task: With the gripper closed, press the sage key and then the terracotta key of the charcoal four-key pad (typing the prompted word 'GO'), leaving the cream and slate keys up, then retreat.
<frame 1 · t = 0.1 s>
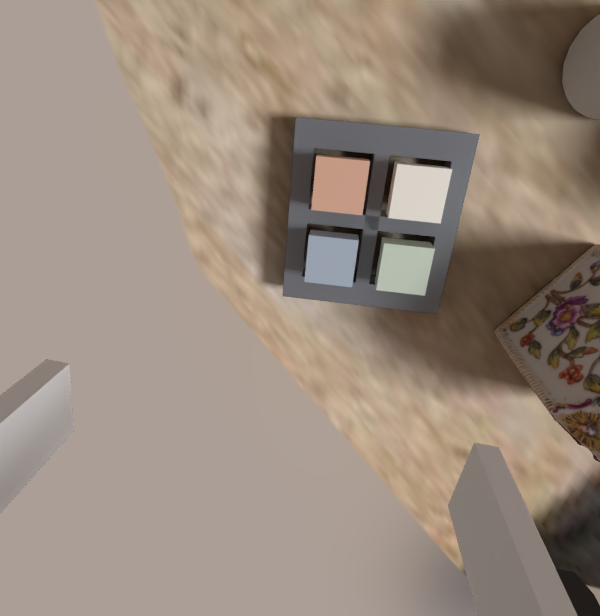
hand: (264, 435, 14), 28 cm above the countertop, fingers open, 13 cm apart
slate key: (331, 256, 36), point 3 cm above the countertop, slide at 0.0 cm
sage key: (402, 264, 36), point 3 cm above the countertop, slide at 0.0 cm
cream key: (416, 191, 34), point 3 cm above the countertop, slide at 0.0 cm
keypad: (370, 216, 38), on the countertop
decorative jar: (580, 324, 40), on the countertop
terracotta key: (340, 183, 34), point 3 cm above the countertop, slide at 0.0 cm
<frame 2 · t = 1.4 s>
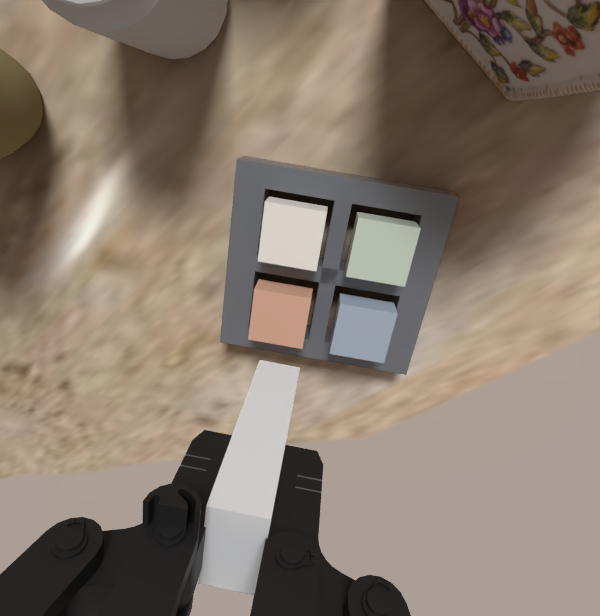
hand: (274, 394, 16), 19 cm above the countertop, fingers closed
slate key: (361, 324, 32), point 3 cm above the countertop, slide at 0.0 cm
squeeze bottle: (6, 100, 31), on the countertop
sage key: (380, 246, 29), point 3 cm above the countertop, slide at 0.0 cm
cream key: (293, 231, 29), point 3 cm above the countertop, slide at 0.0 cm
keypad: (329, 265, 34), on the countertop
terracotta key: (281, 310, 32), point 3 cm above the countertop, slide at 0.0 cm
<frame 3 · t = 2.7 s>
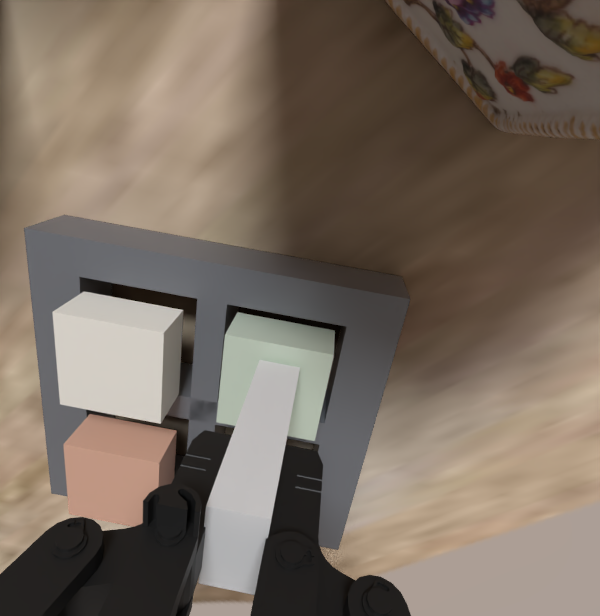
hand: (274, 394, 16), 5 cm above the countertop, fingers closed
sage key: (277, 368, 18), point 3 cm above the countertop, slide at 0.7 cm, touching gripper
cream key: (128, 349, 17), point 3 cm above the countertop, slide at 0.0 cm
keypad: (218, 379, 22), on the countertop
terracotta key: (129, 462, 20), point 3 cm above the countertop, slide at 0.0 cm
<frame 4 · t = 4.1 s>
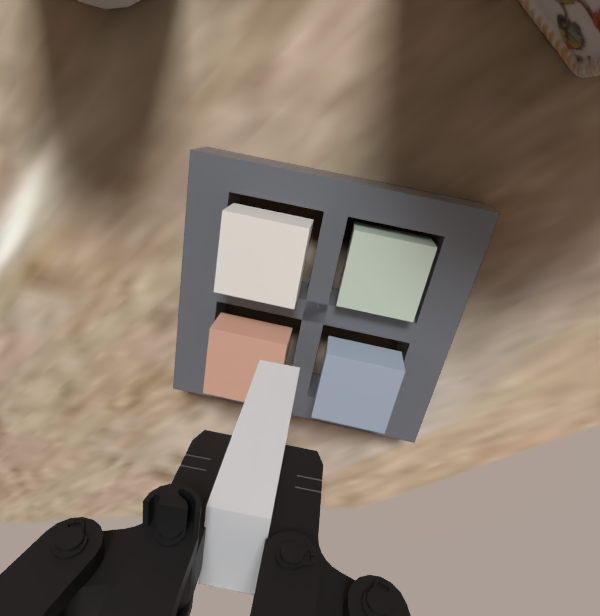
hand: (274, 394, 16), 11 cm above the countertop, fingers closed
slate key: (356, 378, 24), point 3 cm above the countertop, slide at 0.0 cm
sage key: (382, 268, 23), point 2 cm above the countertop, slide at 1.5 cm
cream key: (266, 252, 21), point 3 cm above the countertop, slide at 0.0 cm
keypad: (318, 294, 26), on the countertop
terracotta key: (250, 355, 24), point 3 cm above the countertop, slide at 0.0 cm
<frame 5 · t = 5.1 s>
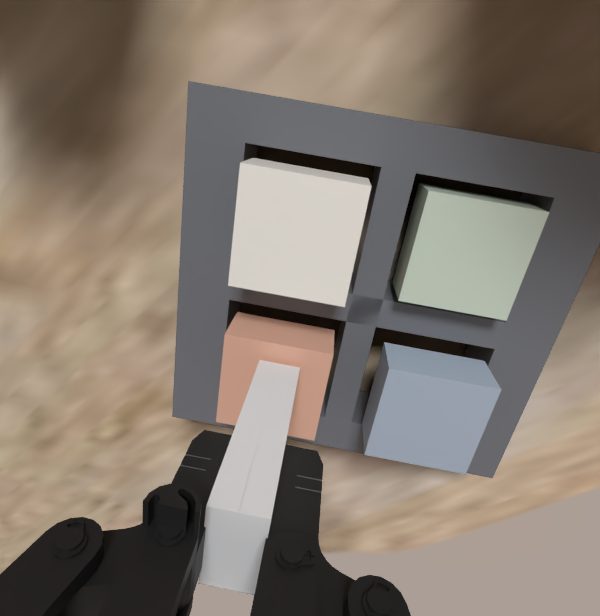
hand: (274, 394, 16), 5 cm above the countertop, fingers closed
slate key: (422, 399, 17), point 3 cm above the countertop, slide at 0.0 cm
sage key: (458, 247, 16), point 2 cm above the countertop, slide at 1.5 cm
cream key: (299, 227, 15), point 3 cm above the countertop, slide at 0.0 cm
keypad: (361, 287, 19), on the countertop
terracotta key: (277, 368, 18), point 3 cm above the countertop, slide at 0.3 cm, touching gripper
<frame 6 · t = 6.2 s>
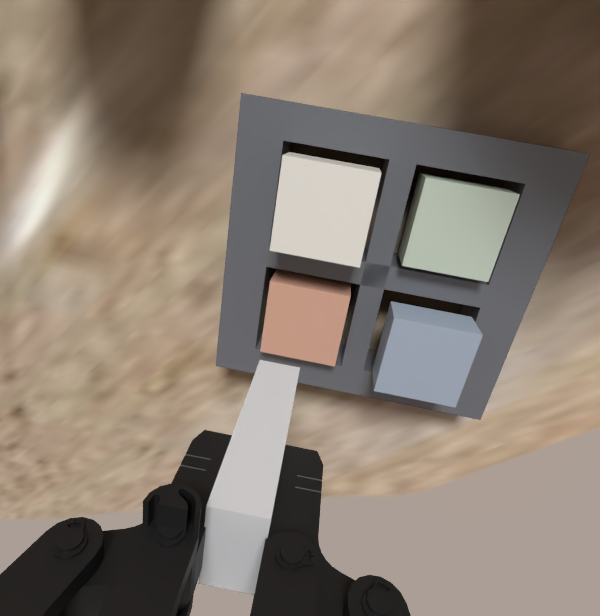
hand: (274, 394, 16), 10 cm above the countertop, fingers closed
slate key: (421, 348, 21), point 3 cm above the countertop, slide at 0.0 cm
sage key: (451, 224, 20), point 2 cm above the countertop, slide at 1.5 cm
cream key: (325, 207, 19), point 3 cm above the countertop, slide at 0.0 cm
keypad: (372, 260, 24), on the countertop
terracotta key: (306, 312, 23), point 2 cm above the countertop, slide at 1.5 cm
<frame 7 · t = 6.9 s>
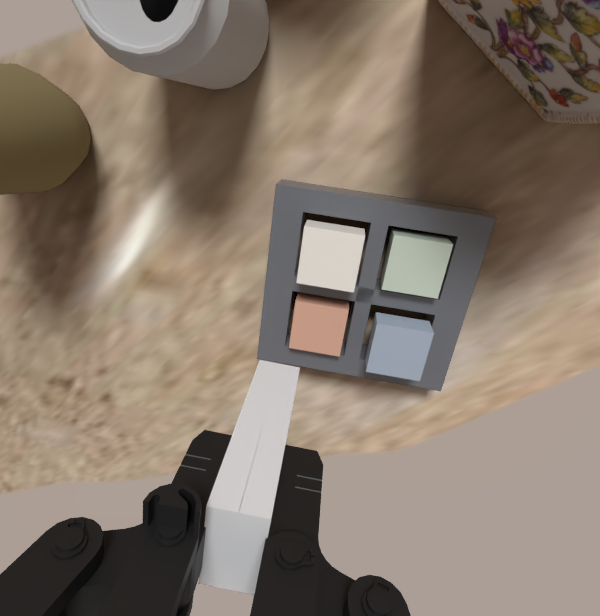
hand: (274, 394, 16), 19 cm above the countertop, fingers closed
slate key: (396, 342, 32), point 3 cm above the countertop, slide at 0.0 cm
squeeze bottle: (56, 130, 33), on the countertop
sage key: (413, 261, 31), point 2 cm above the countertop, slide at 1.5 cm
cream key: (330, 253, 30), point 3 cm above the countertop, slide at 0.0 cm
can: (217, 28, 29), on the countertop
keypad: (363, 283, 34), on the countertop
terracotta key: (319, 320, 34), point 2 cm above the countertop, slide at 1.5 cm
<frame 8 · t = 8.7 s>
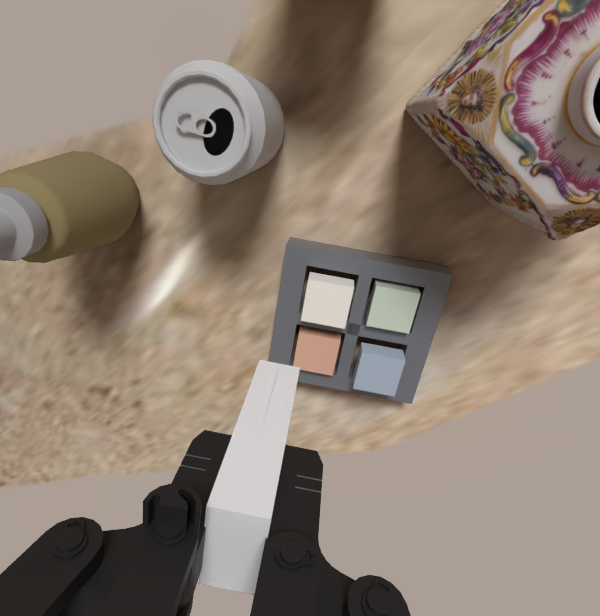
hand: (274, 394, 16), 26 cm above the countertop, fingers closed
slate key: (377, 366, 41), point 3 cm above the countertop, slide at 0.0 cm
squeeze bottle: (111, 193, 41), on the countertop
sage key: (391, 303, 40), point 2 cm above the countertop, slide at 1.5 cm
cream key: (327, 297, 39), point 3 cm above the countertop, slide at 0.0 cm
can: (243, 125, 37), on the countertop
keypad: (352, 317, 43), on the countertop
decorative jar: (503, 103, 35), on the countertop
terracotta key: (317, 346, 43), point 2 cm above the countertop, slide at 1.5 cm
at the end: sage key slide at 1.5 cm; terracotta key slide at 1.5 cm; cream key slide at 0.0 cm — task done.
